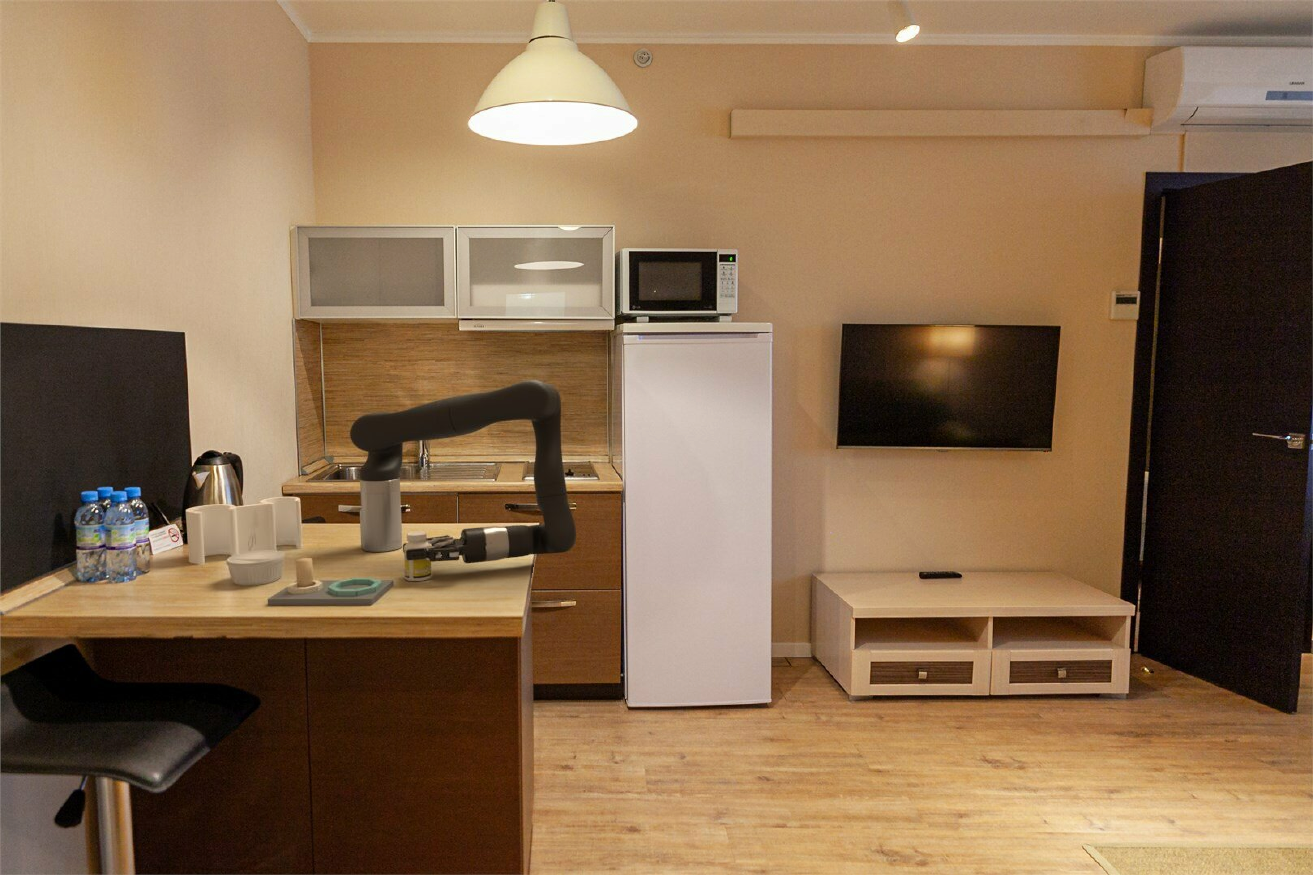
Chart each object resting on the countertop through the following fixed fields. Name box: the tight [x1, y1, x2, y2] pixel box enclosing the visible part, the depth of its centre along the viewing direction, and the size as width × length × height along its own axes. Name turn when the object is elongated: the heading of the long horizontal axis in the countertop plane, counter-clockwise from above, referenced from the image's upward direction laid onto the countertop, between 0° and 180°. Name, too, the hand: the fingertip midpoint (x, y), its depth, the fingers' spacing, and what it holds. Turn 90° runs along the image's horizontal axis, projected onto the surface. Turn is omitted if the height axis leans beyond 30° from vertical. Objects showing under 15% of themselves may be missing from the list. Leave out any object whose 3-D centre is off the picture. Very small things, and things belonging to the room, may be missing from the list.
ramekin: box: [226, 550, 286, 587], centre depth 179 cm, size 11×11×5 cm
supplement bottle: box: [403, 531, 432, 582], centre depth 179 cm, size 5×5×10 cm
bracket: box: [185, 496, 304, 566], centre depth 203 cm, size 25×10×12 cm, turn 131°
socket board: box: [267, 557, 395, 606], centre depth 167 cm, size 20×13×7 cm, turn 90°
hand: (405, 551), depth 178 cm, fingers closed on supplement bottle, 5 cm apart
